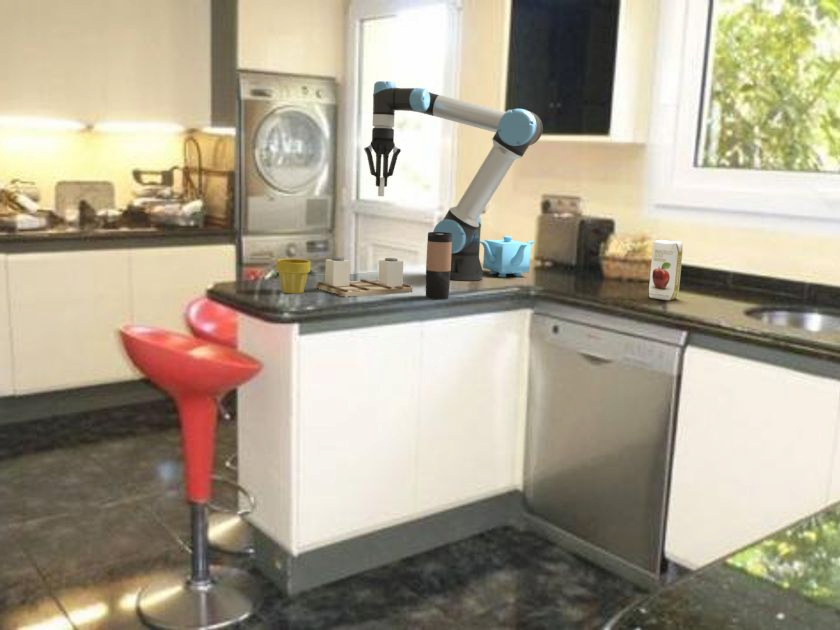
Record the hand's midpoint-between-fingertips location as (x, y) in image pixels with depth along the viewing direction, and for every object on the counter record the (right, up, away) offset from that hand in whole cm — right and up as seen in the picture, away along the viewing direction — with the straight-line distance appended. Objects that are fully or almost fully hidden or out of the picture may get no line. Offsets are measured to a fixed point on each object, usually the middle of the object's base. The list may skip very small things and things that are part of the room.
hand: (380, 196), depth 295 cm
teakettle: (+47, -27, +20) cm, 58 cm away
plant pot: (-26, -35, -36) cm, 56 cm away
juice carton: (+94, -37, -18) cm, 103 cm away
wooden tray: (-4, -34, -27) cm, 44 cm away
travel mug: (+19, -37, -35) cm, 54 cm away
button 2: (+4, -32, -25) cm, 41 cm away
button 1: (-12, -32, -29) cm, 46 cm away
